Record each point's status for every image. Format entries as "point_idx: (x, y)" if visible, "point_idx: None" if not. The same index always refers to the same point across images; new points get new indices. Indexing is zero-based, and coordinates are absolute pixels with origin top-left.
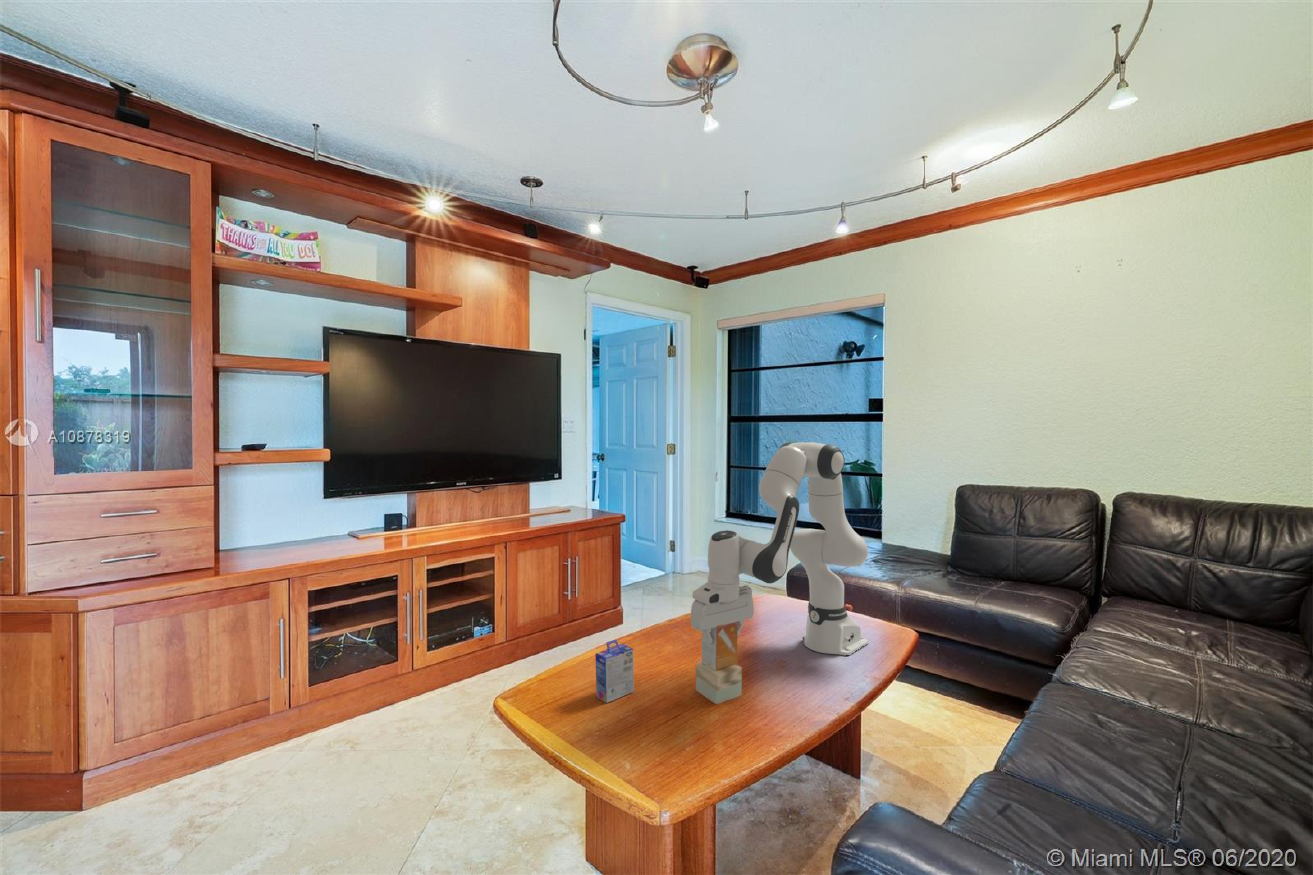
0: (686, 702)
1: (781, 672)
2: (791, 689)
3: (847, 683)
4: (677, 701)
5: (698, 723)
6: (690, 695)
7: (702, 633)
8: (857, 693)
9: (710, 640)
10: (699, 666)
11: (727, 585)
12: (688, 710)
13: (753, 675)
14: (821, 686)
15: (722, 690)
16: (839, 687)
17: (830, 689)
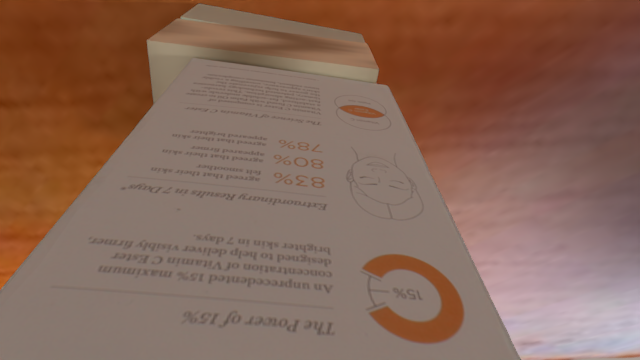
0: (88, 55)
1: (618, 159)
2: (492, 245)
3: (629, 315)
4: (50, 18)
5: (56, 186)
6: (142, 21)
7: (92, 186)
8: (575, 346)
9: None
10: (152, 77)
11: None
12: (63, 107)
13: (524, 98)
14: (568, 286)
15: None
16: (589, 313)
17: (561, 305)
